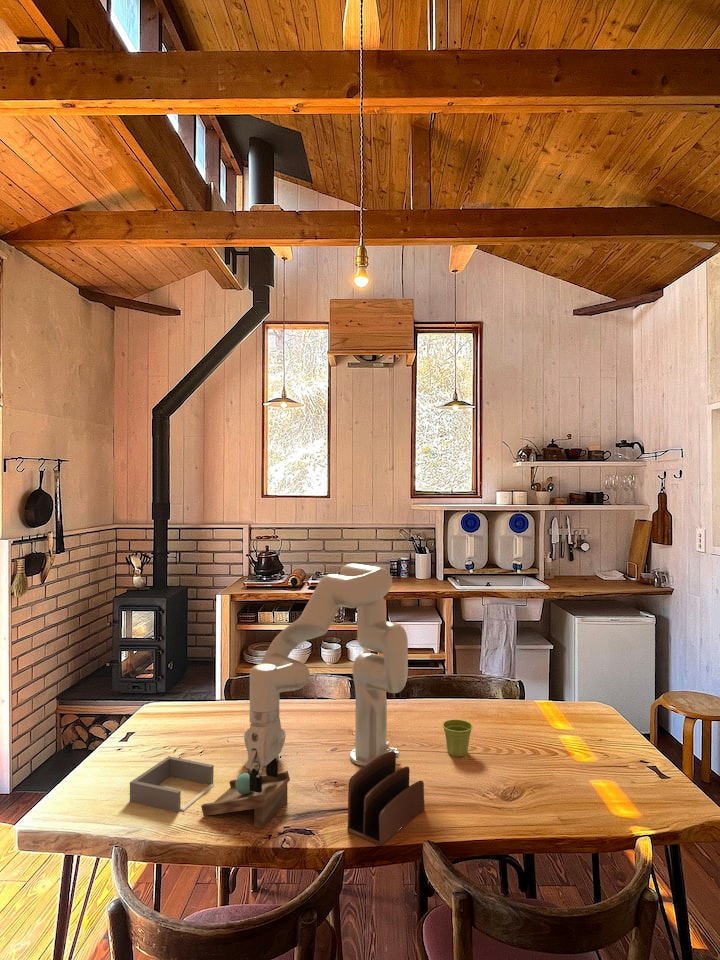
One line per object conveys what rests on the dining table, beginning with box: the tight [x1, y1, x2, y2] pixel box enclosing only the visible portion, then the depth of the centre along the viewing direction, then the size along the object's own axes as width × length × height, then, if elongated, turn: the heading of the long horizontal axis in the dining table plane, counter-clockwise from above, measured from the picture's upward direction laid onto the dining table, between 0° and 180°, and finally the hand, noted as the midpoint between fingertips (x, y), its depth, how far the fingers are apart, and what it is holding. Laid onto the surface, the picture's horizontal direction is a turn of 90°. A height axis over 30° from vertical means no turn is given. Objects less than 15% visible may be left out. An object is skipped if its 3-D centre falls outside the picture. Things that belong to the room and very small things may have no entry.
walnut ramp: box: [200, 770, 291, 829], centre depth 157 cm, size 18×14×8 cm
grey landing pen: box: [129, 756, 215, 813], centre depth 164 cm, size 16×16×5 cm
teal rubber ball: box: [235, 772, 252, 795], centre depth 157 cm, size 5×5×5 cm
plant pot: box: [442, 718, 474, 758], centre depth 189 cm, size 9×9×9 cm
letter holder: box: [347, 751, 425, 847], centre depth 152 cm, size 10×20×14 cm, turn 143°
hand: (264, 783), depth 155 cm, fingers open, 7 cm apart
